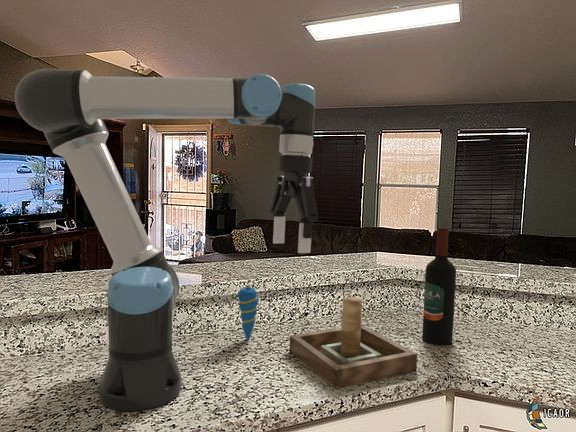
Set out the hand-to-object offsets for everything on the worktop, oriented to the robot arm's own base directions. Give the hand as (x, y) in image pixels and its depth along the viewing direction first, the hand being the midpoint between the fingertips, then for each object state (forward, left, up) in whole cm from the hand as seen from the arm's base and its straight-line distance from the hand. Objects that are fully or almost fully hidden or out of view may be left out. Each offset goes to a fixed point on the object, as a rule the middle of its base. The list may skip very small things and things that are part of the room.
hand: (290, 247), depth 103 cm
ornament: (-5, +14, -26) cm, 30 cm away
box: (+12, -8, -26) cm, 30 cm away
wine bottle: (+41, -6, -26) cm, 49 cm away
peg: (+12, -8, -25) cm, 29 cm away
